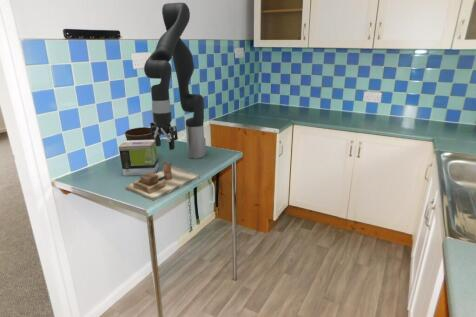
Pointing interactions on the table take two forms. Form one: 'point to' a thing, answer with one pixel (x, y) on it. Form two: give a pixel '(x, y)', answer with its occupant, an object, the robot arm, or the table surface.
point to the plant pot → (139, 134)
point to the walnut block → (153, 179)
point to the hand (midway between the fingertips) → (165, 147)
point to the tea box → (139, 157)
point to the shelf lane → (163, 184)
